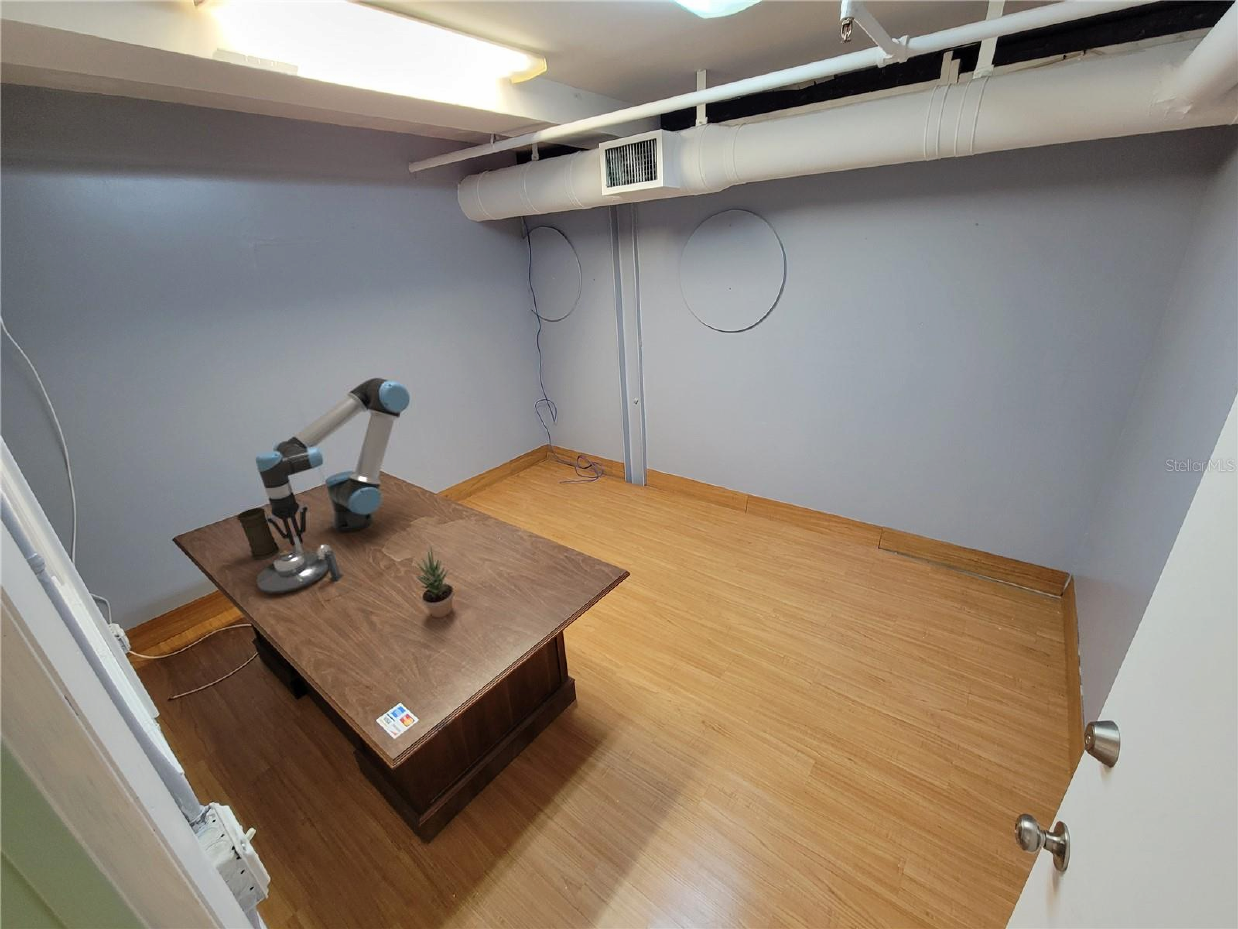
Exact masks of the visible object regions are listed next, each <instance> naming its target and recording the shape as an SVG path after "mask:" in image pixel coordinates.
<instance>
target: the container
mask: <svg viewBox="0 0 1238 929" xmlns="http://www.w3.org/2000/svg"><path fill="white" fill-rule="evenodd" d="M237 520H239V523H241V527H242V529H243V531H244V534H245V536H246V538H247V541H248V544H249V547H250V550H251V551H250V552H251V556H252V558H253V559H254V560H265V559H269V558H271V557H273V556H275V555H276V554H277V553H278V552H279V551H280V546H279V545H278V543H277V542H276V541H275V537H274V536H273V533H272V531H271V528H270V525H269V522H268V521H267V520H266V511H265V509H264V508H261V507H255V508H250V509H247V510H244V511H242V512H240V513H239V514H238V515H237Z"/></svg>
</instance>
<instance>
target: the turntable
mask: <svg viewBox="0 0 1238 929" xmlns="http://www.w3.org/2000/svg"><path fill="white" fill-rule="evenodd" d="M287 552H289V550H288V549H286V550H283V551H281V552H280V555H282V554H285V553H287ZM302 553H303V555H304V558H305V561H306V563H307V568H306V569H305V570H304V571H303V572H301V573H299V574H297V575H295V576H292V577H286V578H283V577H279V576H278V574H277V571H276V569H275V566H274V563H271V564H270V565H268V566H267V567H265V568H264V569H263V570H262V571H261V572H260V573H259V574H258V576H257V578H256V584H257V586H258V589H259V590H260V591H261V592H262V593H266V594H273V595H274V594H284V593H289V592H294V591H297V590H299V589H302V588H305V587H307V586H309V585H311V584H312V583H315V582H317V580H319V579H320V578H322V577H323V576H324V575H325V574H326V573H327V572H328V571H329V568H328V565H327V562H326V559H319V558H318V557H317V551H307V552H306V551H305V552H302Z"/></svg>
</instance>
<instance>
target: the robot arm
mask: <svg viewBox="0 0 1238 929" xmlns="http://www.w3.org/2000/svg"><path fill="white" fill-rule="evenodd" d="M410 400H411V399H410V394H409V391H408V390H407V387H405V385H403V384H401V383H400V382H398V381H395V380H388V379H383V378H381V377H373V378H371V379H370V378H369V379H367V380H366V381H364V382H362V383H360V384H359V385H358V386H356V387H354V388H353V389H351V391H349V392H348V393H347V397H346V398H344V399H343V400H342V401H340V402H339V403H337V404H336V405H334V406H333V407H332V408H330V409H329V410H327V411H326V412H325V413H324V414H322V415H321V416H320V417H318V418H317V419H315V420H314V421H313V422H311V423H310V424H308V425H307V426H306V427H305V428H303V429H302V430H301V431H300V432H298V433H296V434H294V436H292V437H290V438H289V439H288V440H282V441H279V442H278V443H276V444H275V445H274V447H273V450H271V451H265V452H264V453H259V454H258V455H257V456H256V457H255V463H256V466H257V471H258V472H259V475H260V478H261V481H262V484H263V486H264V489H265V492H266V495H267V497H268V500H269V501H268V502H269V505H270V507H271V514H270V515H269V516H268V515H267V516H265V518H266V520H267V523H268V524H269V523H270V524H272V526H273V527H274V529H275V530H276V531H277V533H278V534H279V535H280V537H281V538H282V540H289V543H290V545H291V546H292V547H295V551H301V552H302V553H304V550H303V547H302V545H301V544H303V542H304V540H303V537H302V536H303V535H302V534H304V533H306V532H307V524H306V523H307V520H306V519H307V518H306V517H307V514H306V513H307V511H308V507H307V506H306V504H305V505H304V504H303V505H301V504H300V503H298V502H297V500H296V496H295V494H294V492H293V491H294V490H293V488H292V485H291V481H290V478H289V476H293V475H296V474H299V473H302V472H305V471H309V470H313V469H314V470H315V468H317V467H320V466H322V465H323V464H324V457H323V454H322V452H321V451H320V449H319V448H318V447H317V446H318V445H319V444H321V443H322V442H323V441H325V440H326V439H327V438H328V437H330V436H332V435H333V434H335V432H337V431H338V430H339V429H341V428H342V427H343V426H344V425H346V424H347V423H349V422H350V421H351V420H353V419H354V418H355V417H356V416H358V415H359V414H360V413H362V412H363V413H366V412H368V413H370V417H369V421H368V425H367V428H366V431H365V435H364V437H363V438H364V439H363V442H362V446H361V449H360V454H359V456H358V460H357V464H356V467H355V471H353V470H347V471H342V472H338V473H335V474H333V475H330V476H329V477H327V478H326V479H325V488H326V490H327V494H328V497H329V500H330V503H331V506H332V509H333V521H332V525H333V528H334V530H335V532H338V533H353V532H357V531H360V530H362V529H364V528H366V527H368V526H370V525H371V524H372V523H373V521H374V516H373V512H374V511H375V512H376V510H377V509H379V507H380V505H382V504H381V503H382V501H383V496H382V493H381V492H380V488H381V484H382V482H381V480H380V478H379V475H380V472H381V469H382V465H383V463H384V462H383V461H384V458H385V454H386V451H387V447H388V444H389V440H390V437H391V433H392V429H393V427H394V426H393V425H394V422H395V421H397V419H399V418H400V416H401V413H402V412H403V411H404V410H407V408H408V406H409V404H410ZM298 511H299V520H300V521H299V524H298V521H297V518H296V515H297V514H298ZM275 517H276V518H278V519H279V520H282V524H283V527H284V530H285V532H286V533H285V532H284V531H283V530H282V529H281V527H280V526H279V524H278V523H277V521H276V518H275ZM289 519H290V521H291V523H292V526H293V529H294V533H295V534H293V533H292V530H291V527H290V524H289V521H288V520H289Z"/></svg>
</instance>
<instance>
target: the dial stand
mask: <svg viewBox="0 0 1238 929" xmlns="http://www.w3.org/2000/svg"><path fill="white" fill-rule="evenodd" d="M316 552H317V557H318V558H319V559H326V562H327V565H328V568H329V569H328V571H329V574H330V578H329V581H333V582H334V581H335V582H338V581H340V580H341V579H342V577H344V574H343V573H340V569H339V566H338V562H337V560H336V557H335V553H334V551H333V550H332V548H331V546H330V545H329V544H320V545H319V546H318V547H317V550H316Z"/></svg>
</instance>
